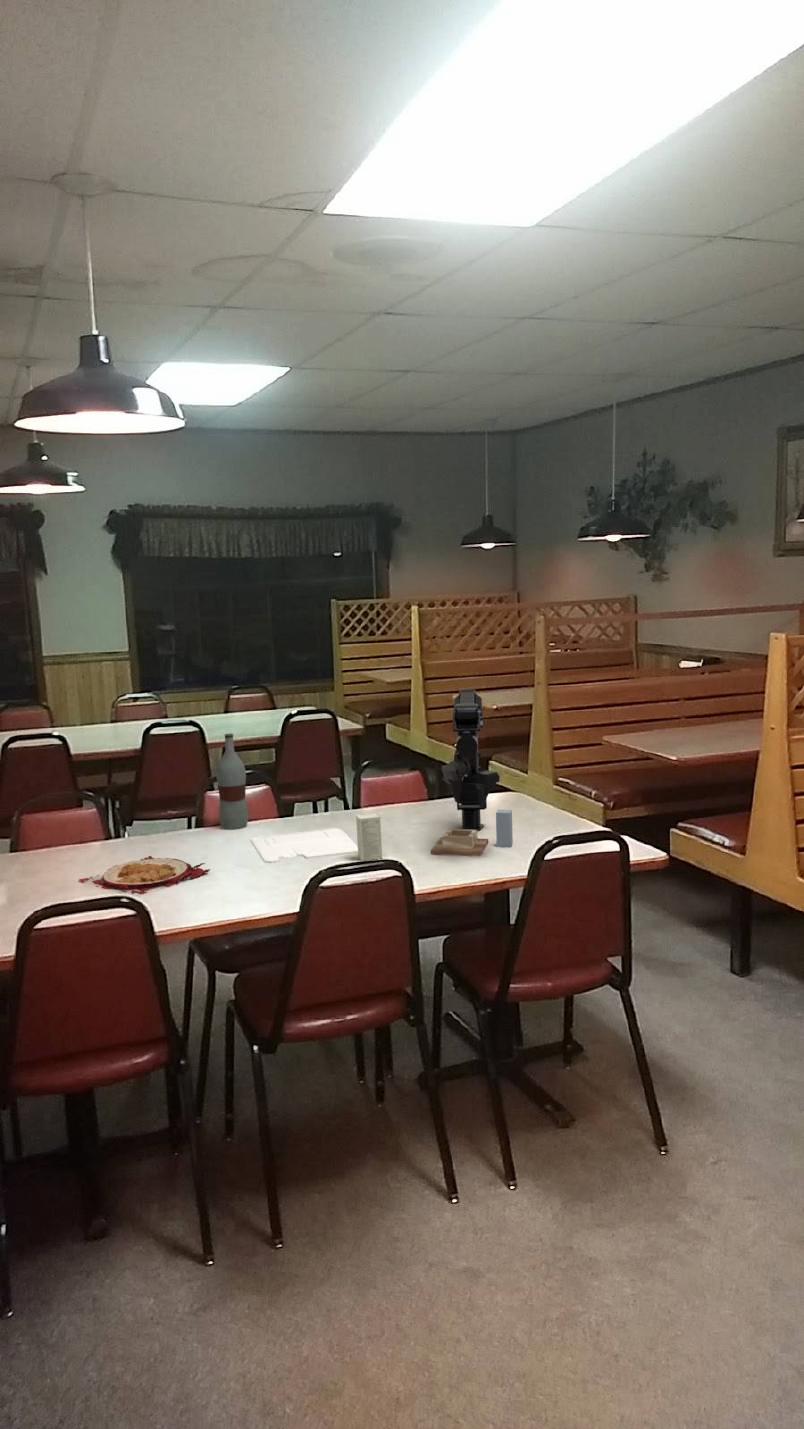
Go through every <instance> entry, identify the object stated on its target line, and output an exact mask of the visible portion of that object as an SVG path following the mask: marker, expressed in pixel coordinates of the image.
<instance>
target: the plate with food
mask: <svg viewBox="0 0 804 1429" xmlns="http://www.w3.org/2000/svg"><path fill="white" fill-rule="evenodd" d="M205 864H206V863H205V862H202V863H200V864H197V865H194V866H192V864H190V863H188V862H185V861H184V860H181V859H179V858H178V859H177V858H169V857H164V858H163V857H162V858H160V857H159V858H154V857H152V856H151V855H148V857H146V856H145V857H144V858H140V859H139V860H132V861H128V862H125V863H122V864H115V865H113V866H112V867H110V868H109V869H107V870H106V871H105V872H104V874H103V875H102V877H101V878H100V879H96V880H93V876H90V878H89V877H84V878H79V879H78V881H79V882H80V883H82V884H85V883H87V882H89V881H90V880H92V881H91V882H92V883H93V884H94V885H95V887H97V888H99V886H101V888H102V889H104V890H108V891H109V890H111V889H119V890H121V892H123V893H128V894H129V893H131V895H135V893H136V892H137V895H141V896H142V895H144V894H146V893H148V892H149V891H152V890H153V889H155V888H160V887H161V889H165V888H171V887H173V886H176V885H179V884H180V881H181V880H182V878H183V879H184V880H188V879H189V878H190V879H196V878H198V877H201V876H202V875H203V874H205V873H209V872H210V871H211V868H209V869H203V868H200V867H201V866H202V865H205ZM96 877H99V874H97V875H96ZM179 879H180V881H179ZM102 881H103V882H102ZM123 890H125V891H123ZM121 892H118V893H119V894H121Z"/></svg>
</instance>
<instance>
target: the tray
mask: <svg viewBox="0 0 804 1429" xmlns="http://www.w3.org/2000/svg"><path fill="white" fill-rule="evenodd" d="M250 842H251V844H252V846H253V847H254V849H255V850H256V852H257V854H258V855H259V856H260V858H261V860H262V861H263V862H264V863H266V864H279V863H280V860H281V859H285V858H286V859H288V858H294V857H295V858H296V857H303V858H304V859H306V860H311V859H317V858H326V857H327V858H329V857H337V856H345V855H351V854H352V855H353V854H358V844H356V842H354V841H353V839H352V838H351V837H350V836H348V835H347V834H346V833H345V832H344V830H342V829H341V828H326V829H317V830H307V831H299V832H289V833H280V834H273V835H262V836H254V837H252V838H251V839H250Z"/></svg>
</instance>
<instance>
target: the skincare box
mask: <svg viewBox="0 0 804 1429" xmlns="http://www.w3.org/2000/svg"><path fill="white" fill-rule="evenodd" d="M355 819H356V820H355V821H356V836H357V846H358V853H357V854H358V856H357V858H359V860H360V861H361V862H362V861H363V862H364V860H366V861H372V859H375V860H379V859H380V860H381V858H382V859H383V849H382V848H383V847H382V846H383V844H382V827H381V826H382V824H381V816H380V815H379V814H378V812H377V813H368V814H367V813H365V814H357V815H355Z"/></svg>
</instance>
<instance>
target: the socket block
mask: <svg viewBox="0 0 804 1429" xmlns="http://www.w3.org/2000/svg"><path fill="white" fill-rule="evenodd" d="M489 841H490V840H489V838H478V830H466V829H458V828H456V829H455V828H448V829H447V830H446V832H445V833H444V834H443V835H442V836H441V837H440V838H439V840H437V842H436V843H435V844H434V845H433V846H432V848H431V849H430V855H437V856H438V855H439V856H440V855H441V856H463V857H464V856H465V857H467V856H468V857H481V855H482V854H483V853H484V851H485V850H486V848H487V846H488V845H489Z"/></svg>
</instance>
